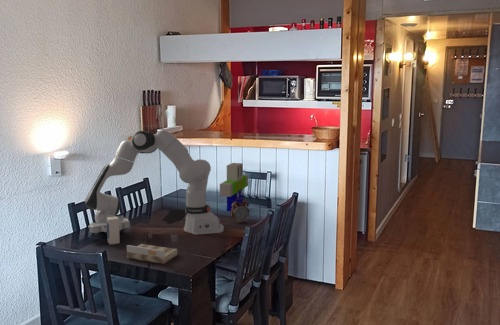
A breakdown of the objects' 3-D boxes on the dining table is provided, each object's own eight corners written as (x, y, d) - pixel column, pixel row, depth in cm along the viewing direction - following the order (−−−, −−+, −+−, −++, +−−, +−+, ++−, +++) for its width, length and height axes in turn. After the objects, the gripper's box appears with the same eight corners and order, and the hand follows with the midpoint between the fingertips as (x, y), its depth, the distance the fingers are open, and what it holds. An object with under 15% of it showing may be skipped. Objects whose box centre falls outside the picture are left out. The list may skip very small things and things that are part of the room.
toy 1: (189, 210, 307) (177, 223, 278) (189, 210, 307) (177, 224, 278) (170, 209, 308) (157, 222, 279) (170, 210, 309) (157, 223, 279)
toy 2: (230, 217, 291) (230, 169, 287) (220, 216, 294) (219, 168, 289) (248, 204, 323) (248, 160, 318) (238, 203, 325) (238, 160, 321)
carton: (117, 240, 248) (116, 216, 246) (119, 243, 244) (118, 218, 242) (107, 241, 246) (106, 217, 244) (109, 244, 241) (108, 219, 239)
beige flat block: (177, 255, 227) (176, 243, 226) (163, 264, 216) (163, 251, 215) (141, 249, 234) (141, 238, 233) (126, 258, 223) (126, 246, 222)
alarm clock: (233, 225, 276) (233, 199, 273) (229, 222, 280) (229, 198, 277) (250, 222, 280) (250, 198, 278) (246, 220, 284) (246, 196, 282)
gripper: (86, 219, 249) (91, 226, 237) (125, 214, 259) (132, 221, 247) (87, 231, 250) (92, 238, 238) (126, 225, 260) (133, 232, 248)
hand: (113, 229), depth 243 cm, fingers closed on carton, 5 cm apart
